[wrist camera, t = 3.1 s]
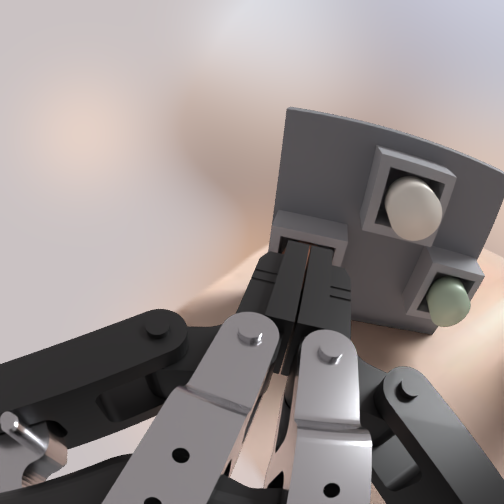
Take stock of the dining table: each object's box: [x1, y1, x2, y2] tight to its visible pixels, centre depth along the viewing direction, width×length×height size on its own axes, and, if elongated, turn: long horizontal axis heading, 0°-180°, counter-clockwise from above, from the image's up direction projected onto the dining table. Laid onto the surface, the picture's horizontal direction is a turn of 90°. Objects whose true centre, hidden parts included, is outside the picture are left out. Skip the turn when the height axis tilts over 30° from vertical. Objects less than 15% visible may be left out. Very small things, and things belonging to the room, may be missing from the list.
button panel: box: [268, 107, 504, 334], centre depth 25 cm, size 6×21×20 cm, turn 75°
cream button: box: [384, 176, 442, 241], centre depth 19 cm, size 2×4×4 cm, turn 75°
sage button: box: [426, 276, 470, 327], centre depth 22 cm, size 2×4×4 cm, turn 75°
